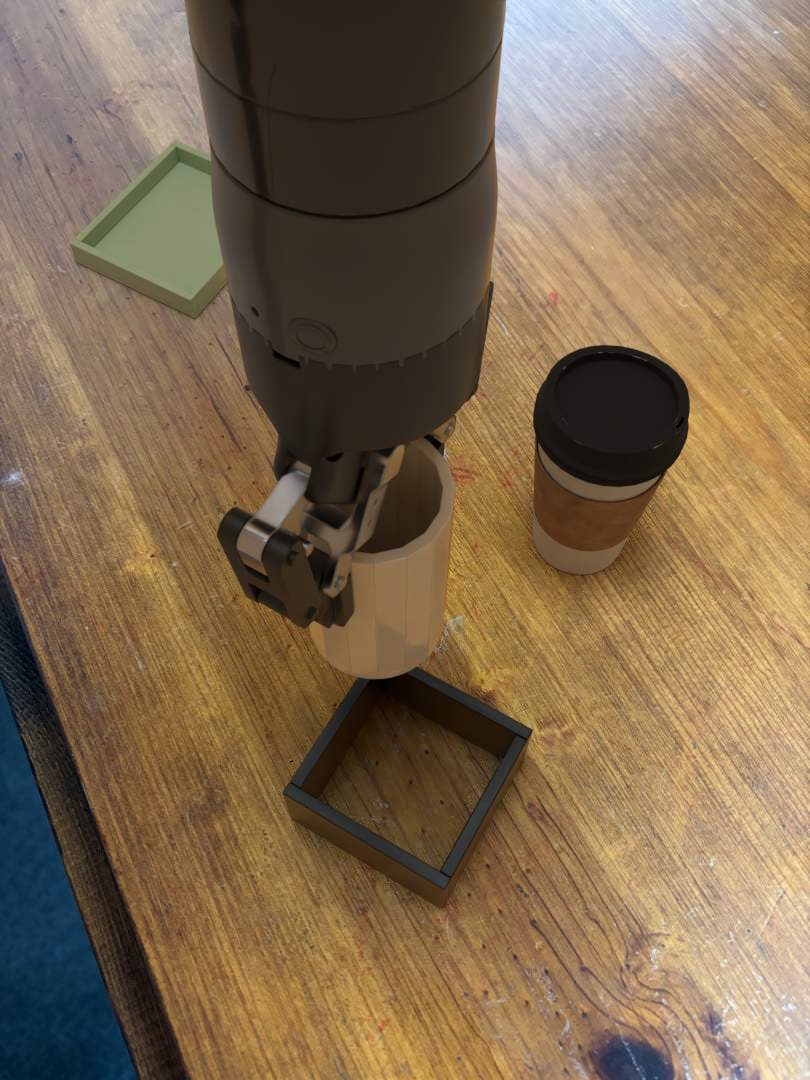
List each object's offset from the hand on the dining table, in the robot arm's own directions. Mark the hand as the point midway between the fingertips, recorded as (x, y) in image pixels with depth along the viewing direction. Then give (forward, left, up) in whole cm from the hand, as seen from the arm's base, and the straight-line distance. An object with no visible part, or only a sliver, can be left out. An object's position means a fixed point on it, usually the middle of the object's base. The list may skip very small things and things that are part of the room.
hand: (372, 545), depth 44 cm
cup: (0, 0, -7) cm, 7 cm away
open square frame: (-2, -3, -21) cm, 22 cm away
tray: (+27, +34, -21) cm, 48 cm away
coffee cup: (+18, -4, -22) cm, 28 cm away
